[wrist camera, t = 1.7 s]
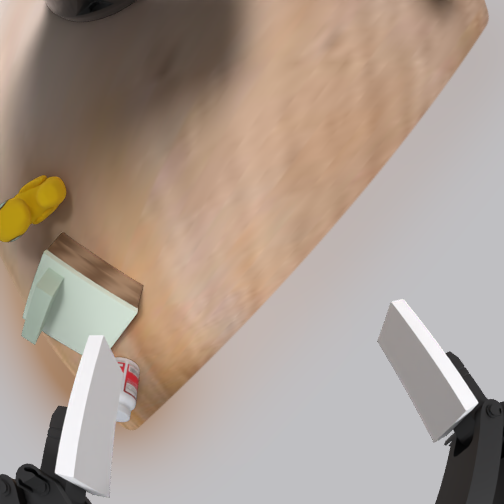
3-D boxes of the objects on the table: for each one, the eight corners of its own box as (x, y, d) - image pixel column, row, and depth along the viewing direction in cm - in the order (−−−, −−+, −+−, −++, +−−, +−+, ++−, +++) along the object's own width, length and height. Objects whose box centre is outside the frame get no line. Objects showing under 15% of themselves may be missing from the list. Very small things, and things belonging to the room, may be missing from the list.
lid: (24, 314, 32) (12, 335, 28) (46, 249, 28) (29, 270, 24) (100, 360, 38) (94, 384, 34) (138, 308, 35) (132, 335, 30)
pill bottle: (105, 368, 47) (95, 416, 37) (112, 351, 44) (101, 402, 35) (135, 379, 49) (129, 427, 39) (144, 363, 47) (138, 414, 37)
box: (37, 295, 37) (25, 314, 32) (62, 232, 33) (47, 249, 29) (105, 337, 43) (99, 359, 38) (143, 285, 39) (137, 308, 35)
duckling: (25, 227, 31) (-11, 263, 23) (10, 195, 29) (-31, 225, 20) (81, 197, 31) (46, 231, 23) (66, 160, 29) (24, 183, 20)
